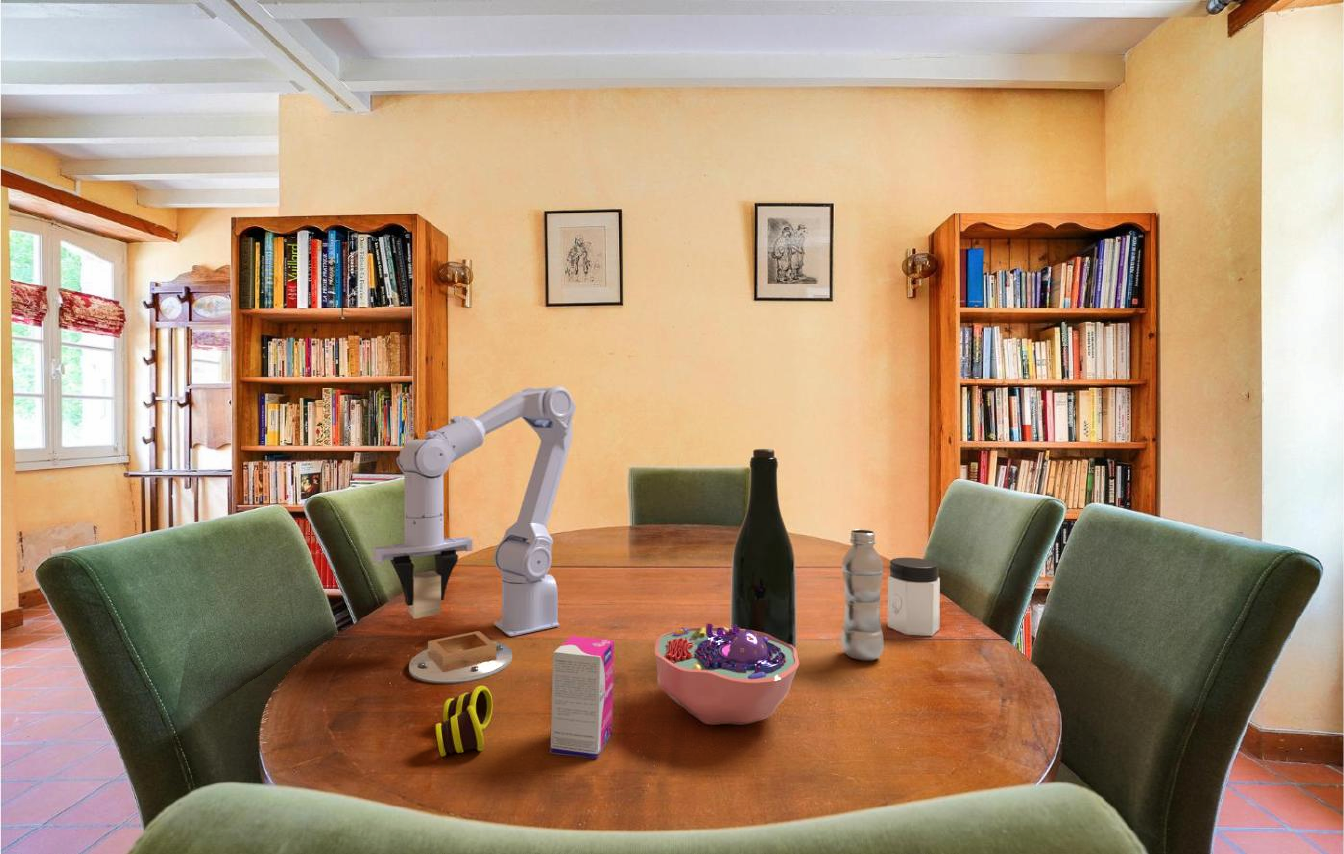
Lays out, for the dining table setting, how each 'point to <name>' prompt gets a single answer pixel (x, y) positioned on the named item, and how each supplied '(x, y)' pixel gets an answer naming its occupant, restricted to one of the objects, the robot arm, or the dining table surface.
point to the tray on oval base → (460, 659)
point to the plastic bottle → (862, 598)
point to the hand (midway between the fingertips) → (424, 601)
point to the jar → (914, 596)
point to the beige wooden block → (426, 595)
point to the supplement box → (582, 696)
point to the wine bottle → (764, 559)
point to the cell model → (725, 672)
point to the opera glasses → (464, 721)
